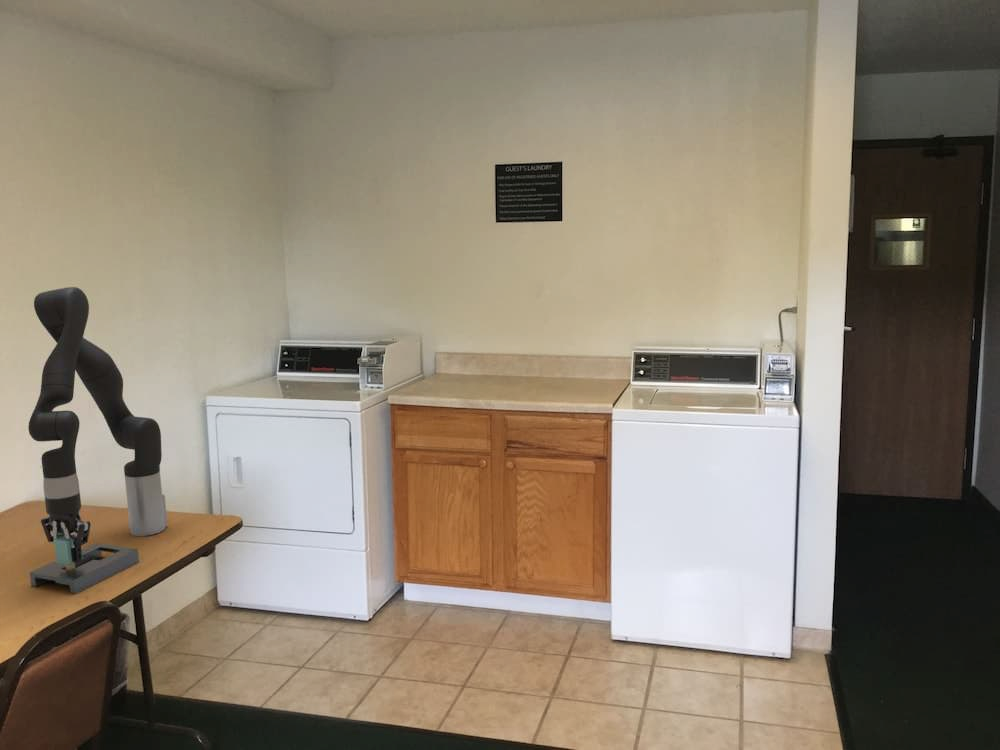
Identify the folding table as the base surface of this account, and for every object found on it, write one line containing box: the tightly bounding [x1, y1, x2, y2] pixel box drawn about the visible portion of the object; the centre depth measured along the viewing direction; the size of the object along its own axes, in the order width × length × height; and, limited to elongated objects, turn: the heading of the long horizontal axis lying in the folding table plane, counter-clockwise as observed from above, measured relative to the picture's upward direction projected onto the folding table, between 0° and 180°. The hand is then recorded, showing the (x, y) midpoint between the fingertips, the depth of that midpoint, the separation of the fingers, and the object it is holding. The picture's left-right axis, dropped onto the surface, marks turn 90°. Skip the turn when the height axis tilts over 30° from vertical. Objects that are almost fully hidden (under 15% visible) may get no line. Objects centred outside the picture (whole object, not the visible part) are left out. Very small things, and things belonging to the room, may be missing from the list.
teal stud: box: [53, 533, 83, 586], centre depth 200 cm, size 5×5×11 cm
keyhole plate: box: [29, 542, 140, 595], centre depth 205 cm, size 20×14×4 cm
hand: (69, 559), depth 200 cm, fingers closed on teal stud, 4 cm apart
